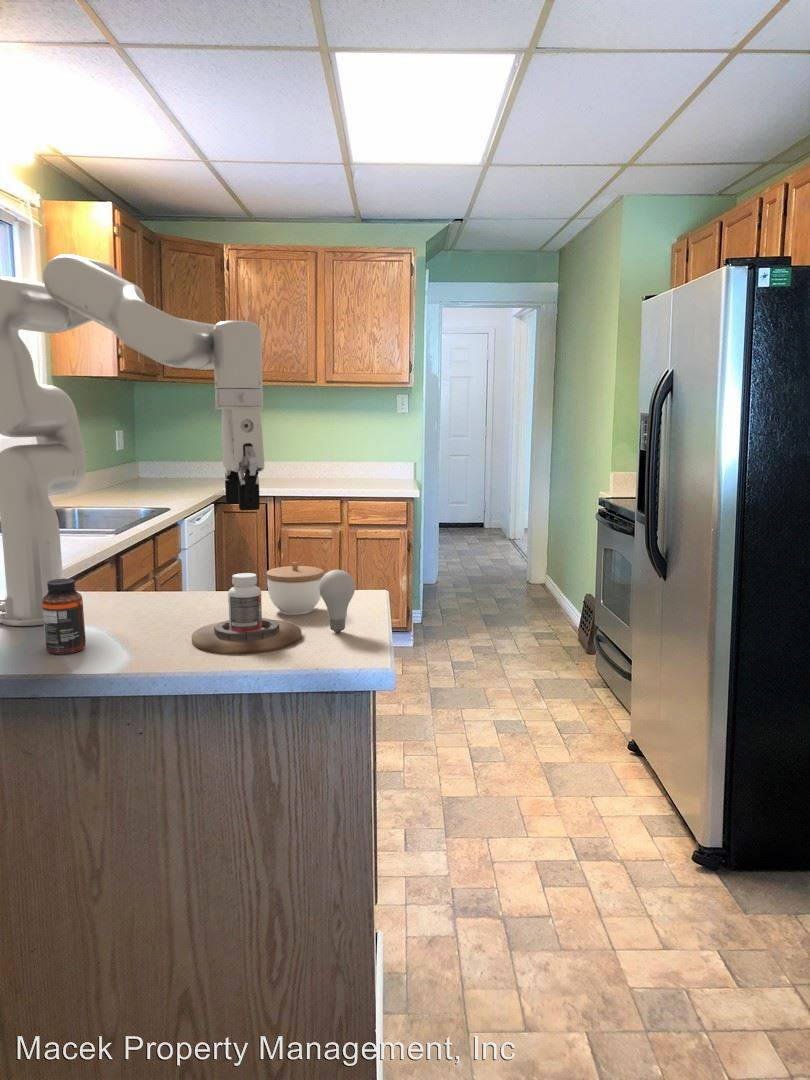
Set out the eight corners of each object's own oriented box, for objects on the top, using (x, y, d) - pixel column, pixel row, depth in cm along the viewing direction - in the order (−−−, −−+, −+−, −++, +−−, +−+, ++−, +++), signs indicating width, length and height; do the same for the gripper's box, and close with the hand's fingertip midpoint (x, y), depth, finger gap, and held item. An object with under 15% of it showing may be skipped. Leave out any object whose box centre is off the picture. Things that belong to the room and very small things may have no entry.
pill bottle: (267, 633, 138) (266, 575, 136) (237, 638, 135) (235, 579, 133) (254, 626, 142) (252, 570, 141) (224, 631, 139) (222, 574, 138)
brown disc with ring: (203, 659, 127) (202, 645, 127) (183, 631, 143) (182, 618, 143) (315, 645, 134) (315, 632, 134) (284, 620, 151) (284, 608, 150)
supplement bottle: (74, 642, 136) (69, 575, 134) (93, 649, 132) (89, 580, 131) (38, 651, 132) (33, 581, 130) (57, 658, 128) (52, 586, 126)
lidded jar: (335, 610, 158) (335, 562, 156) (291, 621, 150) (290, 570, 149) (300, 601, 165) (299, 555, 164) (256, 611, 157) (254, 562, 156)
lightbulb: (323, 638, 138) (322, 574, 137) (316, 629, 144) (315, 567, 142) (359, 635, 140) (358, 572, 138) (351, 626, 146) (350, 565, 144)
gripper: (276, 400, 126) (278, 511, 129) (249, 401, 142) (252, 500, 145) (227, 400, 123) (230, 514, 126) (205, 400, 139) (208, 502, 142)
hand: (242, 506), depth 135 cm, fingers open, 9 cm apart
